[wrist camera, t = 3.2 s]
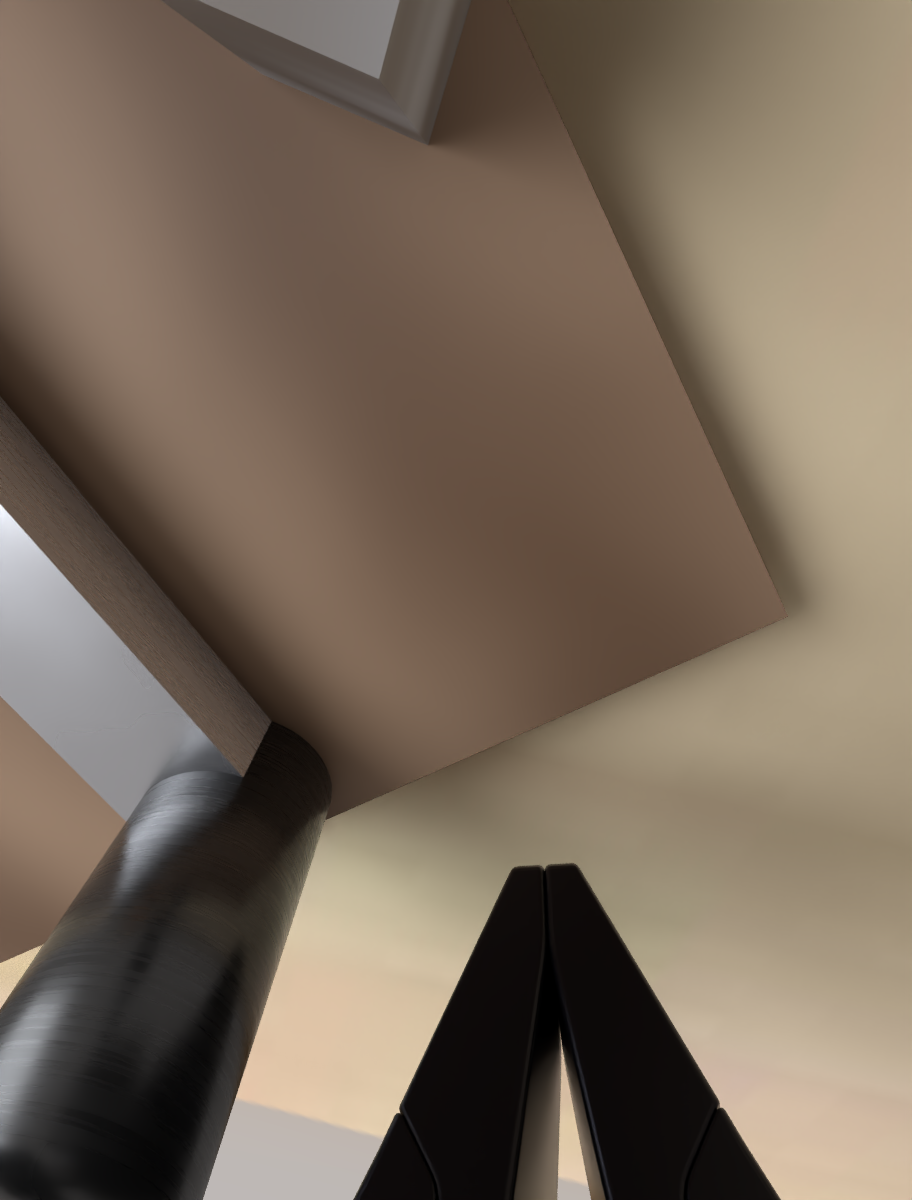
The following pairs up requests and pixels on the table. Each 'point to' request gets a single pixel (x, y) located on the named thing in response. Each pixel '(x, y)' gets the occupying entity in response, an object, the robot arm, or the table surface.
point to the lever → (138, 861)
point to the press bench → (343, 386)
